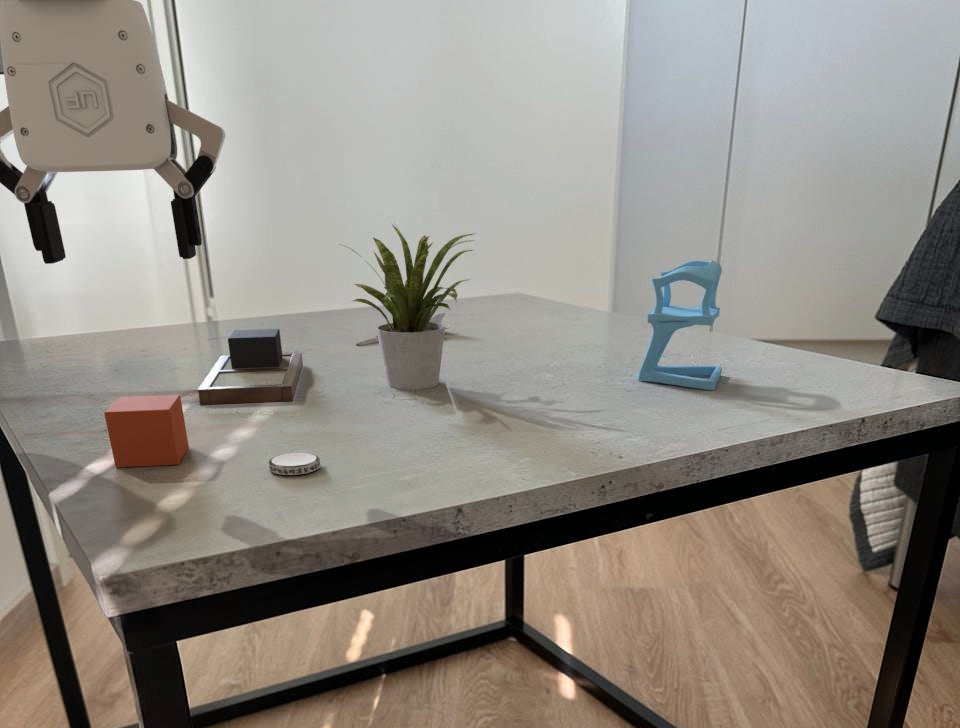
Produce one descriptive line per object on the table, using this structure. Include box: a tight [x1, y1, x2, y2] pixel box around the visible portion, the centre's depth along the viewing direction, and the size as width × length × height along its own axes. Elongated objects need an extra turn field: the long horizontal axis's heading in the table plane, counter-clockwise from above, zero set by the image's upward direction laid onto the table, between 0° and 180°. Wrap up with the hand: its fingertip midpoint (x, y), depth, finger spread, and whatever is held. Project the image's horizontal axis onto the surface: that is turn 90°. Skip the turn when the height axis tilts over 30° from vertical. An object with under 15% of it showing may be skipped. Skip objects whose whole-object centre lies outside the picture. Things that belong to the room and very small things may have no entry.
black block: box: [227, 328, 284, 369], centre depth 100 cm, size 5×5×4 cm
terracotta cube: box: [103, 394, 190, 469], centre depth 76 cm, size 5×5×4 cm
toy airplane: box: [355, 312, 457, 347], centre depth 123 cm, size 8×21×2 cm, turn 140°
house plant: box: [339, 222, 478, 391], centre depth 93 cm, size 14×14×16 cm
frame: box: [197, 351, 304, 407], centre depth 98 cm, size 9×17×2 cm, turn 6°
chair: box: [637, 259, 723, 391], centre depth 96 cm, size 8×8×12 cm
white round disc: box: [268, 452, 321, 476], centre depth 73 cm, size 4×4×1 cm
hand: (122, 259), depth 68 cm, fingers open, 9 cm apart
